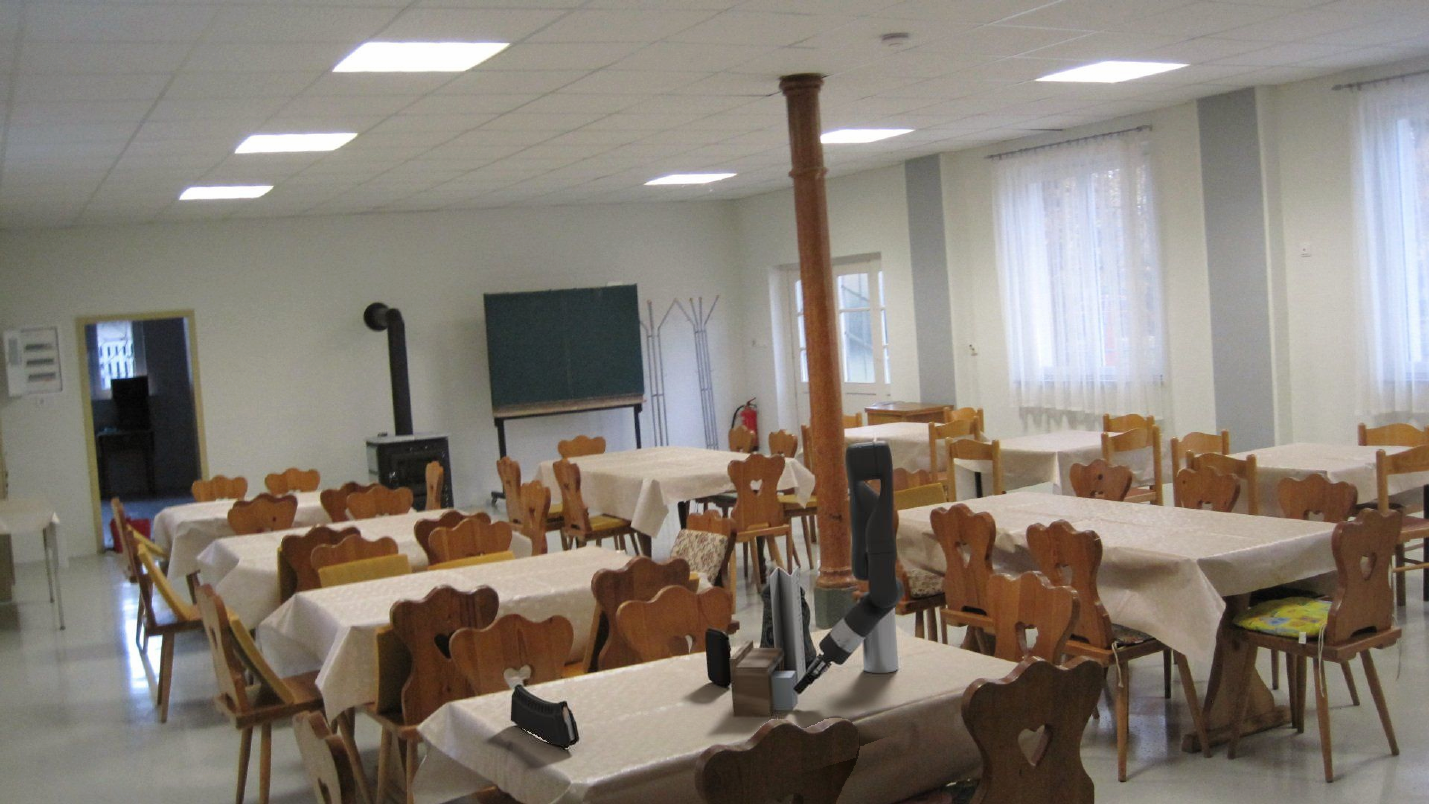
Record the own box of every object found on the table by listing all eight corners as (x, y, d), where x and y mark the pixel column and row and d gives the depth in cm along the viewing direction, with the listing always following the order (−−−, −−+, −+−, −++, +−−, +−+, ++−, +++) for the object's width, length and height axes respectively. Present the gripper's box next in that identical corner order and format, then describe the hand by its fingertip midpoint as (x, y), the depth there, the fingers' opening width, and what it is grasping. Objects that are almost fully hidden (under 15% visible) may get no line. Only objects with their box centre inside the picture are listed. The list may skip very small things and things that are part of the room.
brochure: (799, 693, 311) (791, 576, 309) (777, 693, 312) (769, 577, 311) (806, 677, 325) (798, 565, 323) (785, 678, 326) (777, 566, 324)
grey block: (750, 702, 306) (748, 670, 306) (797, 702, 303) (795, 670, 303) (744, 709, 301) (742, 677, 300) (792, 710, 297) (790, 677, 297)
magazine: (503, 688, 302) (553, 674, 278) (515, 685, 304) (566, 671, 280) (517, 758, 299) (569, 750, 275) (529, 755, 301) (582, 747, 277)
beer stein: (778, 655, 350) (772, 568, 349) (837, 661, 339) (831, 572, 338) (746, 670, 337) (739, 580, 336) (806, 677, 325) (800, 584, 324)
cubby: (751, 694, 313) (747, 640, 312) (787, 694, 310) (783, 640, 310) (733, 716, 296) (729, 658, 295) (771, 716, 293) (767, 658, 293)
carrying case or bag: (737, 688, 320) (733, 632, 319) (727, 690, 318) (723, 634, 317) (715, 680, 329) (711, 625, 328) (705, 682, 327) (702, 628, 326)
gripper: (835, 623, 304) (790, 673, 307) (826, 636, 291) (779, 688, 294) (858, 644, 302) (813, 694, 306) (850, 658, 290) (803, 709, 293)
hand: (797, 691), depth 300 cm, fingers closed
